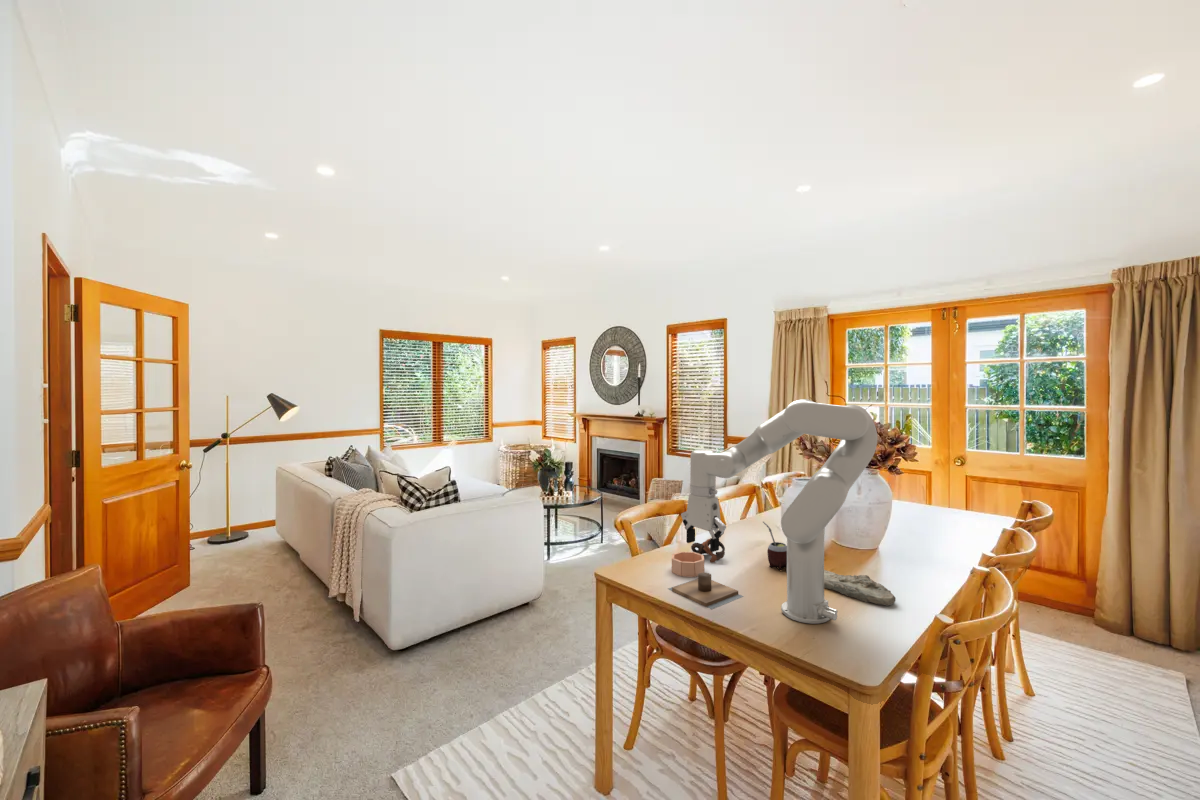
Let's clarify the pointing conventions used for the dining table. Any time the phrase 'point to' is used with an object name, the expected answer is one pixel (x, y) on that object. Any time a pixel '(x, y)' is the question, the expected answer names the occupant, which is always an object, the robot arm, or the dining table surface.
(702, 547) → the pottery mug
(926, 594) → the dining table surface
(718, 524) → the robot arm
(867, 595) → the long grey stone
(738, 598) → the mat
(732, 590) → the lid
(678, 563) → the bowl
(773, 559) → the mate gourd
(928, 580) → the dining table surface
